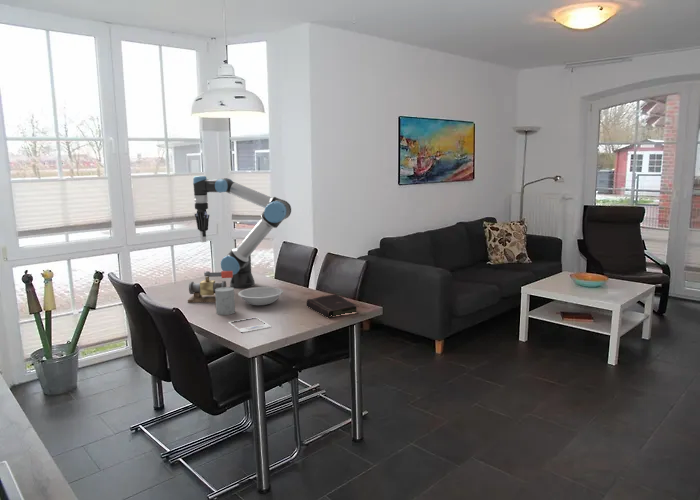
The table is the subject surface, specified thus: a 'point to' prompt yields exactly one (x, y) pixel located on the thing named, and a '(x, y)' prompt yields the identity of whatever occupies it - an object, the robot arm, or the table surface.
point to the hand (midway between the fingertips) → (203, 241)
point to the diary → (331, 305)
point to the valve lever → (219, 274)
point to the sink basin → (260, 295)
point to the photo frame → (252, 326)
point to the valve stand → (204, 290)
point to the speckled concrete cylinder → (225, 300)
